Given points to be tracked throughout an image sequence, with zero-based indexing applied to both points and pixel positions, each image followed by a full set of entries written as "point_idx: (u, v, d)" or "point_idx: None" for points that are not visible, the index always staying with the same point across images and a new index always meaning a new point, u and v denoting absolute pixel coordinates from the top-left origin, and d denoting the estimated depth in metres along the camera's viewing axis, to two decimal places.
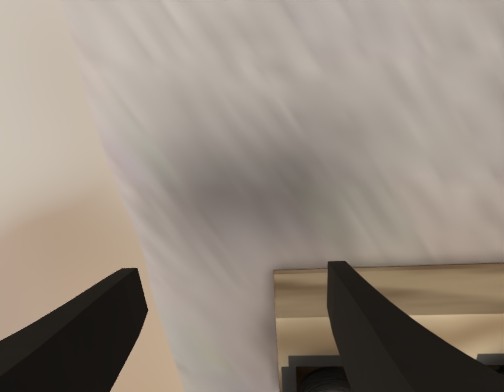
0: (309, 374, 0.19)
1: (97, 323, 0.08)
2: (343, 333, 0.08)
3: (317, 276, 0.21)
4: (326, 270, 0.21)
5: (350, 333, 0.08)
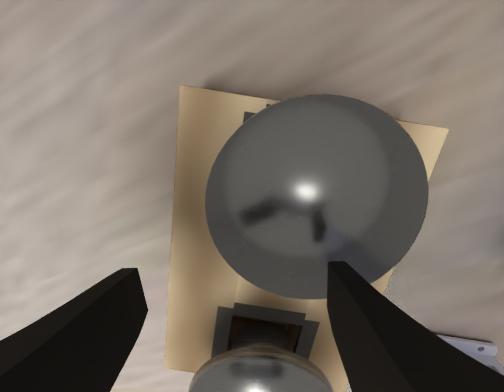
0: None
1: (97, 323, 0.08)
2: (343, 333, 0.08)
3: None
4: None
5: (350, 333, 0.08)
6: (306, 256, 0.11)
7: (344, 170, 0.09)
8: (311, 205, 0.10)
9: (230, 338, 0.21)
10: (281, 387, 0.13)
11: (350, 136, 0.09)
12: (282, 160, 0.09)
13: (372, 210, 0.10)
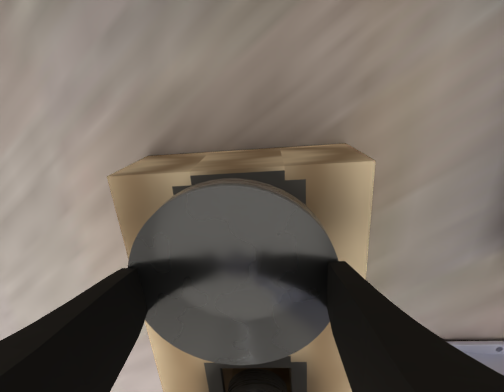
0: None
1: (97, 323, 0.08)
2: (343, 333, 0.08)
3: None
4: None
5: (350, 333, 0.08)
6: (241, 327, 0.11)
7: (248, 248, 0.10)
8: (229, 283, 0.10)
9: None
10: None
11: (242, 218, 0.09)
12: (188, 250, 0.10)
13: (288, 277, 0.10)
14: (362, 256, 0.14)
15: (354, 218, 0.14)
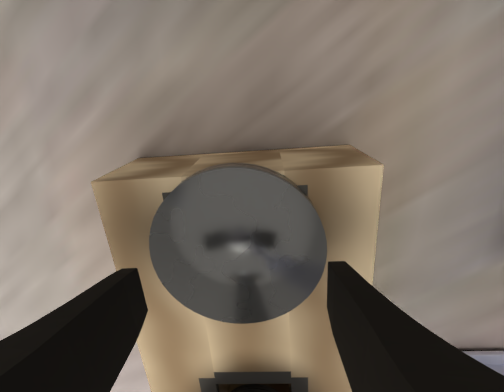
0: None
1: (97, 323, 0.08)
2: (343, 333, 0.08)
3: None
4: None
5: (350, 333, 0.08)
6: (244, 289, 0.13)
7: (249, 220, 0.12)
8: (233, 250, 0.12)
9: None
10: None
11: (244, 195, 0.11)
12: (199, 222, 0.12)
13: (283, 245, 0.12)
14: (368, 267, 0.13)
15: (360, 227, 0.13)
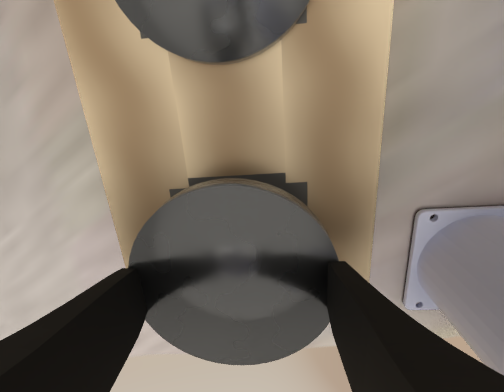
0: None
1: (97, 323, 0.08)
2: (343, 333, 0.08)
3: None
4: None
5: (350, 333, 0.08)
6: None
7: None
8: None
9: None
10: (243, 223, 0.09)
11: None
12: None
13: None
14: None
15: None
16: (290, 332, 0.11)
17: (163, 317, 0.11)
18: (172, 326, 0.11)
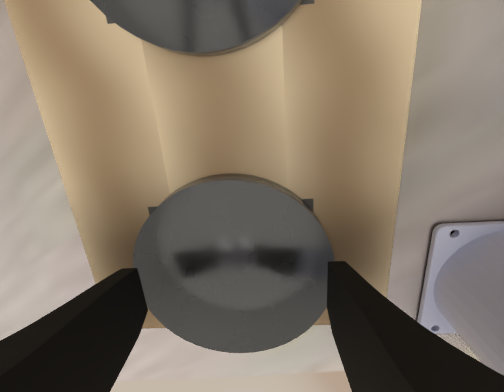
0: None
1: (97, 323, 0.08)
2: (343, 333, 0.08)
3: None
4: None
5: (350, 333, 0.08)
6: None
7: None
8: None
9: None
10: (242, 215, 0.10)
11: None
12: None
13: None
14: None
15: None
16: (287, 320, 0.11)
17: (166, 307, 0.11)
18: (174, 315, 0.12)
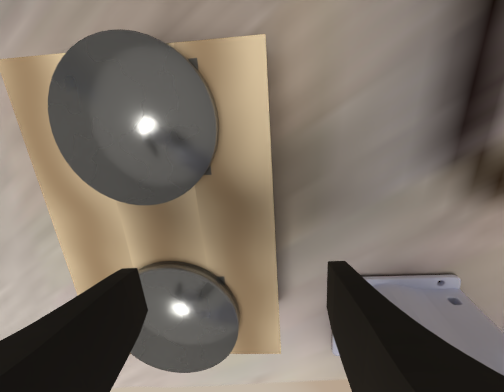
0: None
1: (97, 323, 0.08)
2: (343, 333, 0.08)
3: None
4: None
5: (350, 333, 0.08)
6: (143, 165, 0.13)
7: (138, 87, 0.12)
8: (128, 122, 0.13)
9: None
10: (176, 289, 0.16)
11: (130, 59, 0.12)
12: (92, 91, 0.12)
13: (172, 115, 0.13)
14: (265, 149, 0.14)
15: (252, 104, 0.13)
16: (211, 352, 0.17)
17: None
18: (138, 348, 0.18)
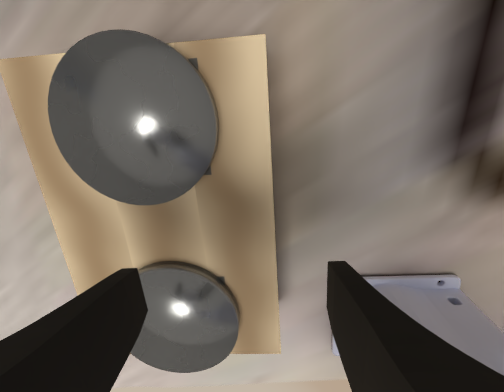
0: None
1: (97, 323, 0.08)
2: (343, 333, 0.08)
3: None
4: None
5: (350, 333, 0.08)
6: (143, 165, 0.13)
7: (138, 87, 0.12)
8: (128, 122, 0.13)
9: None
10: (176, 289, 0.16)
11: (130, 59, 0.12)
12: (92, 91, 0.12)
13: (172, 115, 0.13)
14: (265, 149, 0.14)
15: (252, 104, 0.13)
16: (211, 352, 0.17)
17: None
18: (138, 348, 0.18)
